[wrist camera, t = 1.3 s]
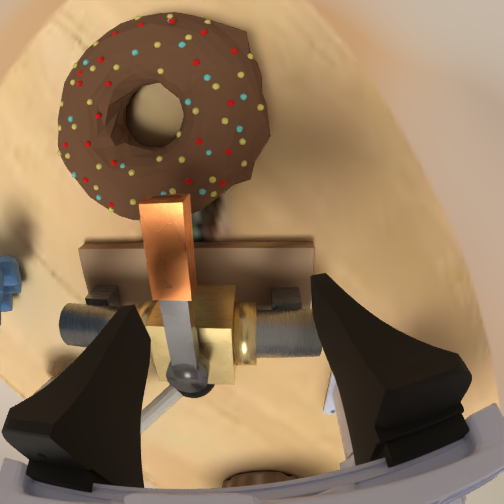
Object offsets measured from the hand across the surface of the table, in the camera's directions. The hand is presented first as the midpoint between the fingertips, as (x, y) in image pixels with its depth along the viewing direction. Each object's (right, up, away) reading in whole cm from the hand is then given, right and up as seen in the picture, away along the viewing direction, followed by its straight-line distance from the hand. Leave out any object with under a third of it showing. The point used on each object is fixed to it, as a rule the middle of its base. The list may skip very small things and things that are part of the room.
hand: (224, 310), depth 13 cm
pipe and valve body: (-3, -2, +12) cm, 12 cm away
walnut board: (-3, -1, +13) cm, 13 cm away
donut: (-5, +12, +8) cm, 15 cm away
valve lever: (-3, 0, +4) cm, 5 cm away
